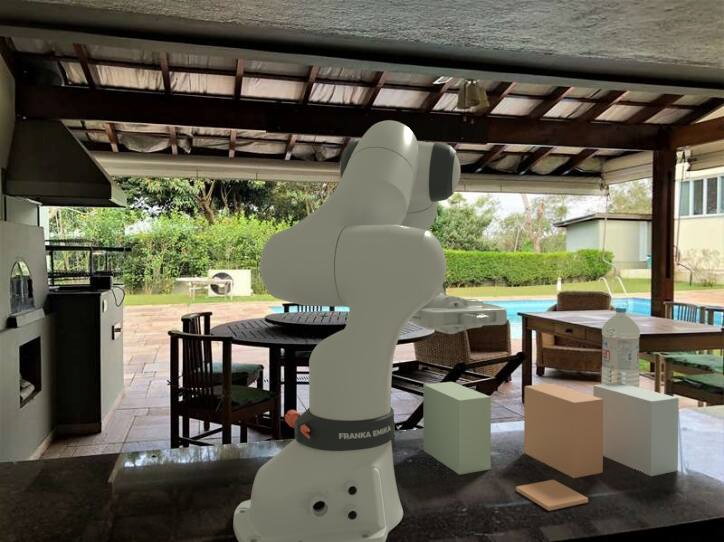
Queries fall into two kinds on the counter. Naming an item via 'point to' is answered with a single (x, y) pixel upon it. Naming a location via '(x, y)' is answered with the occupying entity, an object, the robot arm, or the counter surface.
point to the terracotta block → (564, 429)
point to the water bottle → (620, 350)
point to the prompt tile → (551, 495)
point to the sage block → (457, 426)
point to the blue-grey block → (639, 427)
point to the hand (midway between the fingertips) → (483, 320)
